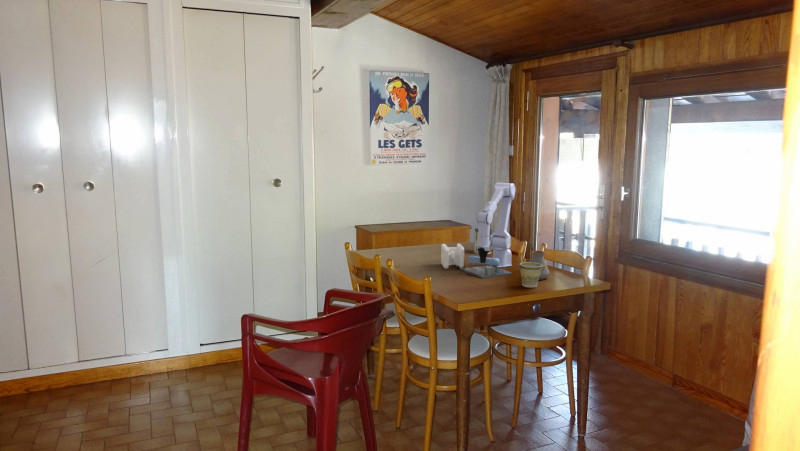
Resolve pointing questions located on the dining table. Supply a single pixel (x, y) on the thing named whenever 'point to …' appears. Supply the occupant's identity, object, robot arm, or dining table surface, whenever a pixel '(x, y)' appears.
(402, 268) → the dining table surface
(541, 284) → the dining table surface
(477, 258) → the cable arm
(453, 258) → the cable organizer
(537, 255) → the coffee pot
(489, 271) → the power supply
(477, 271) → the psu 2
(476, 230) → the coffee can
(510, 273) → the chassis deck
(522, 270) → the ceramic cup
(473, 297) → the dining table surface
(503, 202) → the robot arm
